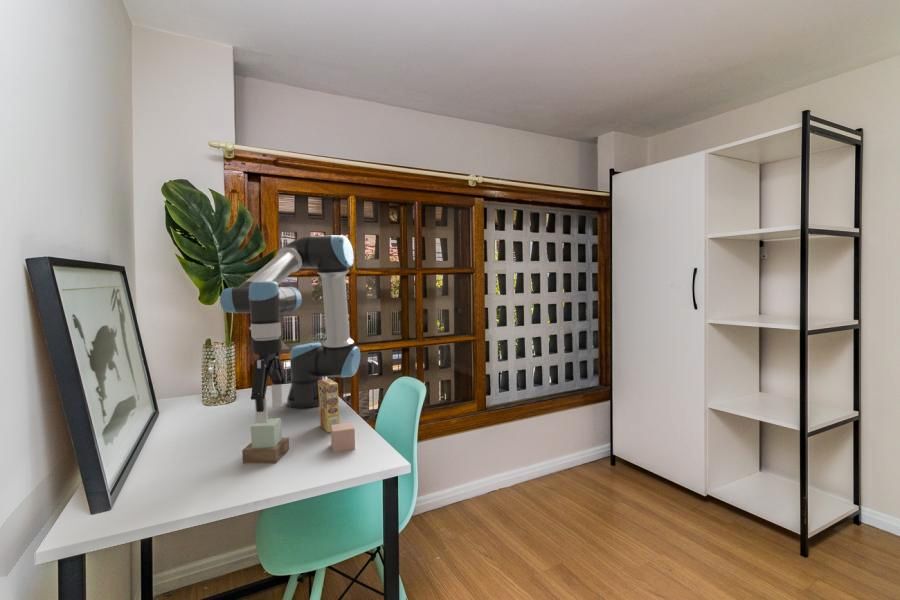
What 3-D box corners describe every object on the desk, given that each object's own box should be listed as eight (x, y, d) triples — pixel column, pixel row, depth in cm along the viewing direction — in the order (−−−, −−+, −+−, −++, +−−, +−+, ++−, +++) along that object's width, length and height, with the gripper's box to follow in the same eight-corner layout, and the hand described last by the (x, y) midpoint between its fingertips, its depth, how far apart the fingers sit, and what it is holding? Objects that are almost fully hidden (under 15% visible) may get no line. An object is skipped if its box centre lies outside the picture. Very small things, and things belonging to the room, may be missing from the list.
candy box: (340, 430, 142) (338, 383, 141) (327, 433, 140) (325, 385, 139) (331, 423, 150) (329, 378, 149) (318, 425, 147) (317, 379, 146)
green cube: (259, 440, 125) (258, 419, 125) (281, 439, 125) (280, 418, 125) (251, 448, 119) (250, 426, 119) (274, 447, 119) (273, 425, 119)
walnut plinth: (258, 451, 127) (257, 437, 127) (289, 451, 127) (288, 437, 127) (242, 464, 118) (242, 450, 118) (276, 464, 118) (275, 449, 118)
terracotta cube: (331, 444, 130) (330, 424, 130) (352, 442, 132) (351, 422, 132) (333, 452, 124) (332, 431, 124) (355, 449, 127) (354, 428, 126)
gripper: (267, 331, 133) (270, 401, 135) (233, 346, 108) (238, 431, 110) (292, 331, 134) (296, 400, 135) (265, 345, 109) (270, 430, 111)
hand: (270, 414), depth 123 cm, fingers open, 13 cm apart
